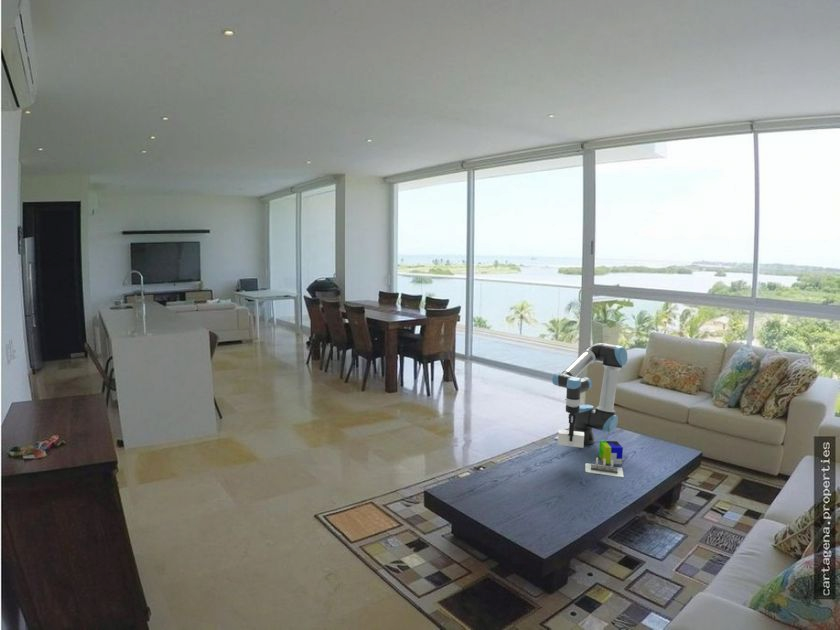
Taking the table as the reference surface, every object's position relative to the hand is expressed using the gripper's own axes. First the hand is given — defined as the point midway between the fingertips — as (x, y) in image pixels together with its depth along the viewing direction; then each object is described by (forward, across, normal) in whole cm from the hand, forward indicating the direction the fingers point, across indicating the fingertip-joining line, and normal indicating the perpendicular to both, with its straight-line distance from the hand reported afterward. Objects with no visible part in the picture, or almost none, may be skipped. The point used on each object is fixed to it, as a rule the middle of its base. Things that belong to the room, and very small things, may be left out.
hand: (570, 443), depth 301 cm
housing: (0, 0, 0) cm, 0 cm away
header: (+12, +3, +19) cm, 23 cm away
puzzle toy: (+13, -13, +23) cm, 29 cm away
